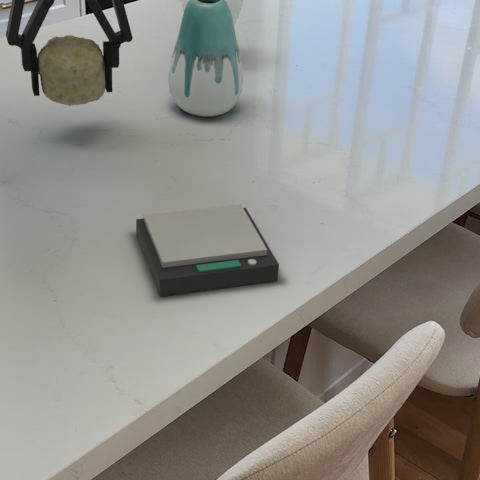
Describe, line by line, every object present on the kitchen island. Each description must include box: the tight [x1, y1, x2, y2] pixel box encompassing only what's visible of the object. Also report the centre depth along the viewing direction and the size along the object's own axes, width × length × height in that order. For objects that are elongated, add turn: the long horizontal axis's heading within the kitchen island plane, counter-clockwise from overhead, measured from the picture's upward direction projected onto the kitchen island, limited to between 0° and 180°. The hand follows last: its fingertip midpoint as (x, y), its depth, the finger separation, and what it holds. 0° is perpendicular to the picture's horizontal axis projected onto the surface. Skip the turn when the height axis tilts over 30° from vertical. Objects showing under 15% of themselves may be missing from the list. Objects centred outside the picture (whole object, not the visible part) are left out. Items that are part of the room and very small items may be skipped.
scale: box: [135, 204, 280, 298], centre depth 105 cm, size 14×13×3 cm
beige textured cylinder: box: [37, 34, 106, 106], centre depth 124 cm, size 9×10×10 cm
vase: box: [167, 0, 244, 117], centre depth 136 cm, size 12×12×18 cm
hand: (72, 90), depth 126 cm, fingers closed on beige textured cylinder, 9 cm apart
